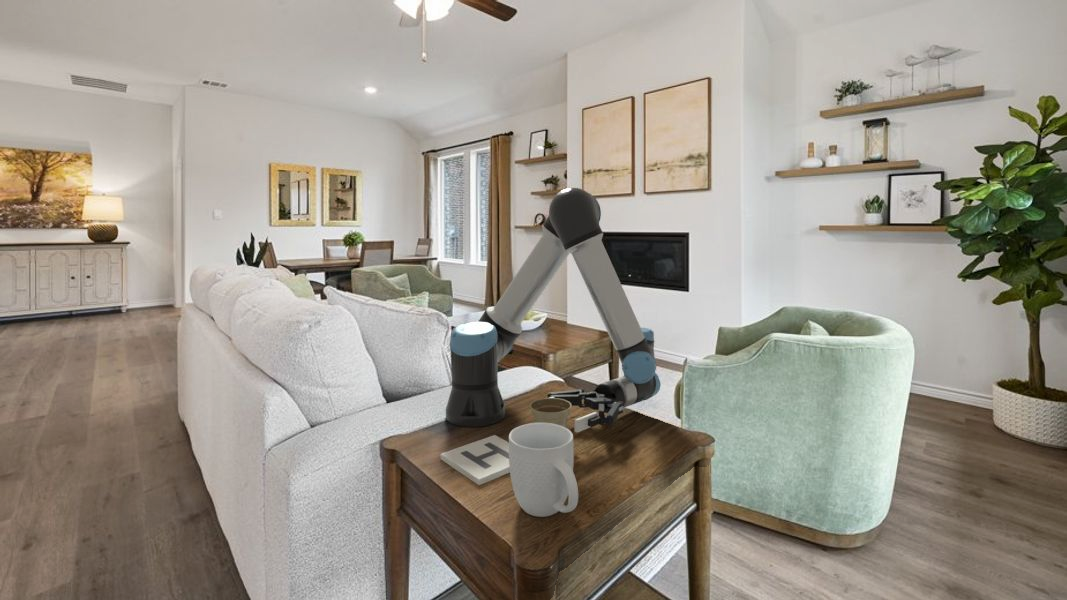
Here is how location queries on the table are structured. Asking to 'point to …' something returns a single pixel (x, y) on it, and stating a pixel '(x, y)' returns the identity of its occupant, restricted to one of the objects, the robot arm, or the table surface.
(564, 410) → the flower pot
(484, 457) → the letter board
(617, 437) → the table surface
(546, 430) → the mug
